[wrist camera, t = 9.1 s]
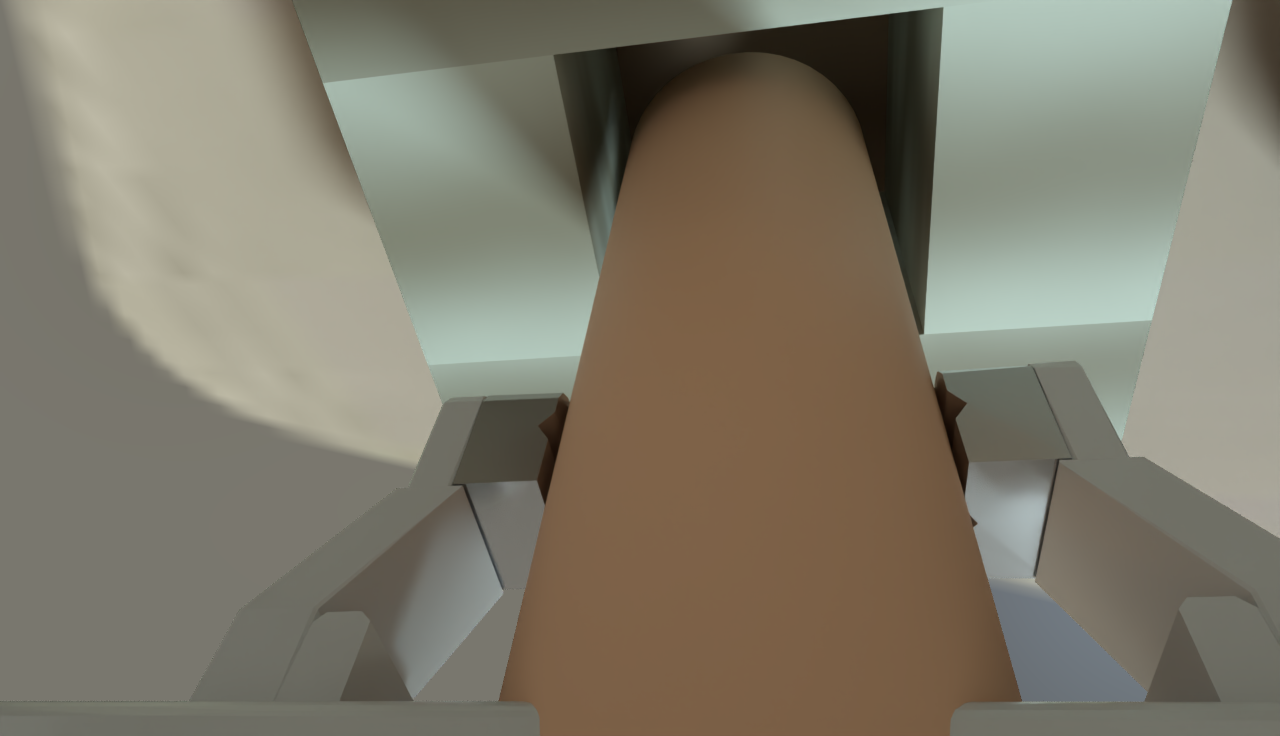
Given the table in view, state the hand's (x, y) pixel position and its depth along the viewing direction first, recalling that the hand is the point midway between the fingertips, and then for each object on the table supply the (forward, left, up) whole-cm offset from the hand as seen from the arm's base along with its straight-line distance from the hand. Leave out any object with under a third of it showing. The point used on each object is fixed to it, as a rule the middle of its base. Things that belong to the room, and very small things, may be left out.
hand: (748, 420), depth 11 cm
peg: (0, 0, -7) cm, 7 cm away
